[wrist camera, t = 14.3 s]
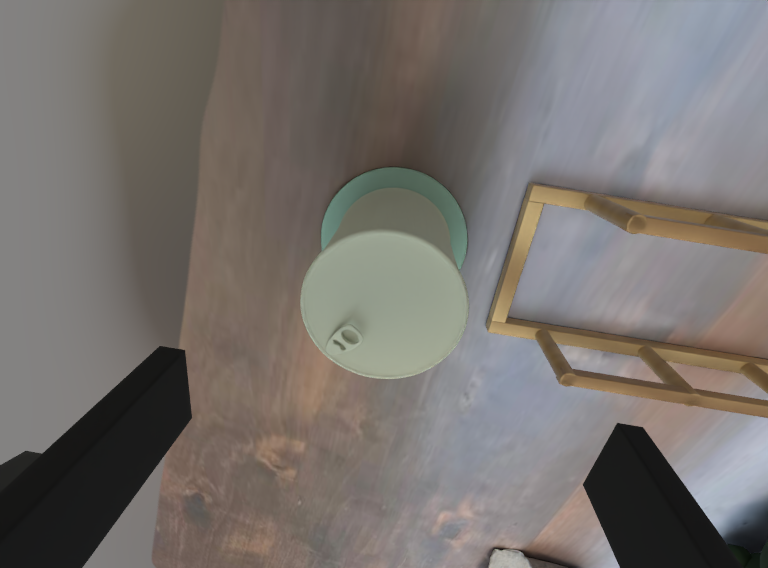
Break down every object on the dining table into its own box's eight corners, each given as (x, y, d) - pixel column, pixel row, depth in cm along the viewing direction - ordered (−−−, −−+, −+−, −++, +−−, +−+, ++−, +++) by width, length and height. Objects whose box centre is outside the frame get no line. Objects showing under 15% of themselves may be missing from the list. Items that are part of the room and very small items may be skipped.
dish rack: (528, 182, 28) (563, 202, 22) (884, 239, 28) (1027, 276, 22) (485, 325, 34) (503, 376, 27) (784, 374, 33) (874, 436, 27)
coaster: (328, 155, 28) (326, 156, 28) (483, 180, 28) (484, 181, 28) (317, 294, 33) (316, 296, 33) (449, 315, 33) (449, 318, 33)
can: (314, 238, 31) (260, 306, 20) (398, 161, 28) (390, 190, 17) (388, 314, 33) (376, 411, 22) (473, 250, 30) (507, 326, 19)
